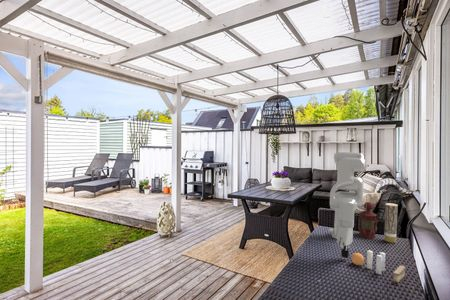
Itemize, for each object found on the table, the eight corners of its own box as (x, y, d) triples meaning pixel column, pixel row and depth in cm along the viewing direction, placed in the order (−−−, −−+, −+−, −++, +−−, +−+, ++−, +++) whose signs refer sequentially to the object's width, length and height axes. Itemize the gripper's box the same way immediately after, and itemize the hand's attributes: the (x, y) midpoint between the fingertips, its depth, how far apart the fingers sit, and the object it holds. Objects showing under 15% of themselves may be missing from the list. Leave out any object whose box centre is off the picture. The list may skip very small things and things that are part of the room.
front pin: (365, 267, 132) (366, 251, 132) (367, 266, 133) (368, 250, 133) (371, 269, 130) (371, 252, 130) (372, 268, 132) (373, 251, 132)
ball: (359, 255, 131) (360, 267, 131) (365, 252, 135) (367, 265, 134) (348, 253, 136) (349, 265, 136) (354, 250, 140) (356, 262, 139)
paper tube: (392, 243, 169) (393, 205, 169) (381, 240, 175) (383, 203, 175) (398, 242, 172) (399, 205, 172) (387, 239, 178) (389, 202, 178)
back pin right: (375, 272, 126) (375, 255, 126) (376, 271, 128) (377, 254, 128) (380, 274, 125) (381, 257, 125) (382, 273, 126) (382, 256, 126)
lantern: (373, 240, 175) (374, 196, 174) (354, 235, 184) (356, 193, 184) (379, 236, 183) (381, 194, 183) (361, 232, 192) (363, 191, 192)
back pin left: (378, 270, 130) (379, 253, 130) (380, 268, 132) (380, 251, 131) (383, 271, 128) (384, 254, 128) (385, 270, 130) (386, 253, 130)
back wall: (393, 281, 119) (393, 272, 119) (400, 273, 127) (400, 265, 127) (398, 282, 117) (398, 274, 117) (404, 274, 126) (405, 266, 126)
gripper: (344, 219, 148) (343, 251, 148) (333, 224, 138) (331, 258, 138) (358, 222, 143) (357, 255, 143) (347, 227, 133) (346, 263, 133)
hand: (344, 256), depth 141 cm, fingers closed
